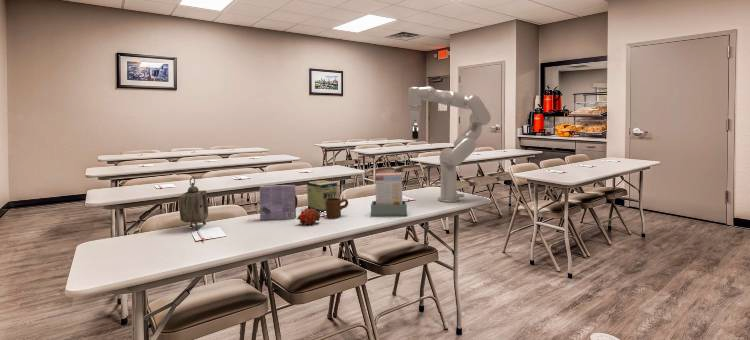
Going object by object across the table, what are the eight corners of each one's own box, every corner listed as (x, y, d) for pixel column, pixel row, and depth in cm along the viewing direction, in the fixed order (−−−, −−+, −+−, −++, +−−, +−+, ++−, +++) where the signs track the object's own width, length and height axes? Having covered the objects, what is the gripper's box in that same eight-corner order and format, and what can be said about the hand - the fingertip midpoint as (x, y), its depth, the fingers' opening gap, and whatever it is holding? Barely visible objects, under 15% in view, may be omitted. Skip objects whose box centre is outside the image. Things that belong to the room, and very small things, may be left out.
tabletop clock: (200, 231, 205) (196, 179, 202) (180, 232, 205) (176, 179, 201) (209, 223, 220) (205, 174, 216) (190, 224, 219) (186, 175, 215)
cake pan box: (298, 216, 231) (296, 183, 228) (298, 218, 226) (296, 185, 223) (261, 218, 227) (259, 185, 225) (260, 221, 223) (258, 187, 220)
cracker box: (402, 210, 234) (402, 172, 231) (402, 213, 228) (402, 174, 225) (376, 210, 235) (376, 172, 232) (375, 213, 229) (375, 174, 227)
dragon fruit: (323, 225, 217) (299, 232, 213) (318, 213, 222) (295, 219, 218) (323, 215, 211) (299, 221, 207) (317, 202, 216) (294, 208, 212)
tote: (406, 211, 237) (406, 200, 236) (406, 216, 226) (406, 205, 225) (372, 211, 238) (372, 200, 237) (371, 216, 227) (370, 205, 226)
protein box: (323, 213, 237) (322, 185, 235) (307, 208, 249) (306, 181, 246) (338, 210, 244) (337, 182, 242) (322, 205, 255) (321, 179, 253)
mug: (346, 213, 234) (346, 196, 233) (350, 217, 227) (350, 199, 226) (324, 216, 230) (324, 198, 229) (328, 219, 223) (327, 201, 222)
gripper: (408, 108, 260) (408, 137, 262) (408, 108, 243) (409, 139, 245) (420, 108, 259) (421, 137, 262) (422, 108, 242) (422, 139, 245)
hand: (415, 138), depth 253 cm, fingers open, 9 cm apart
